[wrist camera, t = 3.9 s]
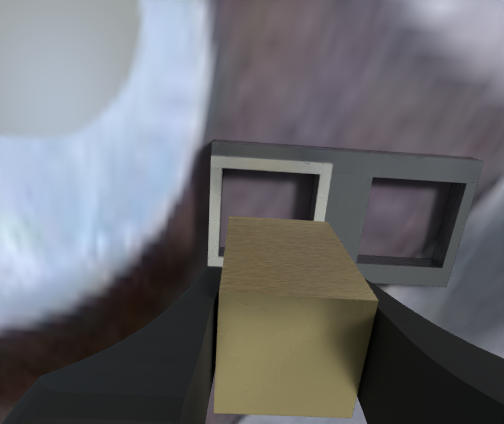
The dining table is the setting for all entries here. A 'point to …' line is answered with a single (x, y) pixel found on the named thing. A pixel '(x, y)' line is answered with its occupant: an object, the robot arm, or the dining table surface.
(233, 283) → the brass block
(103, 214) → the dining table surface
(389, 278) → the grey double window frame
